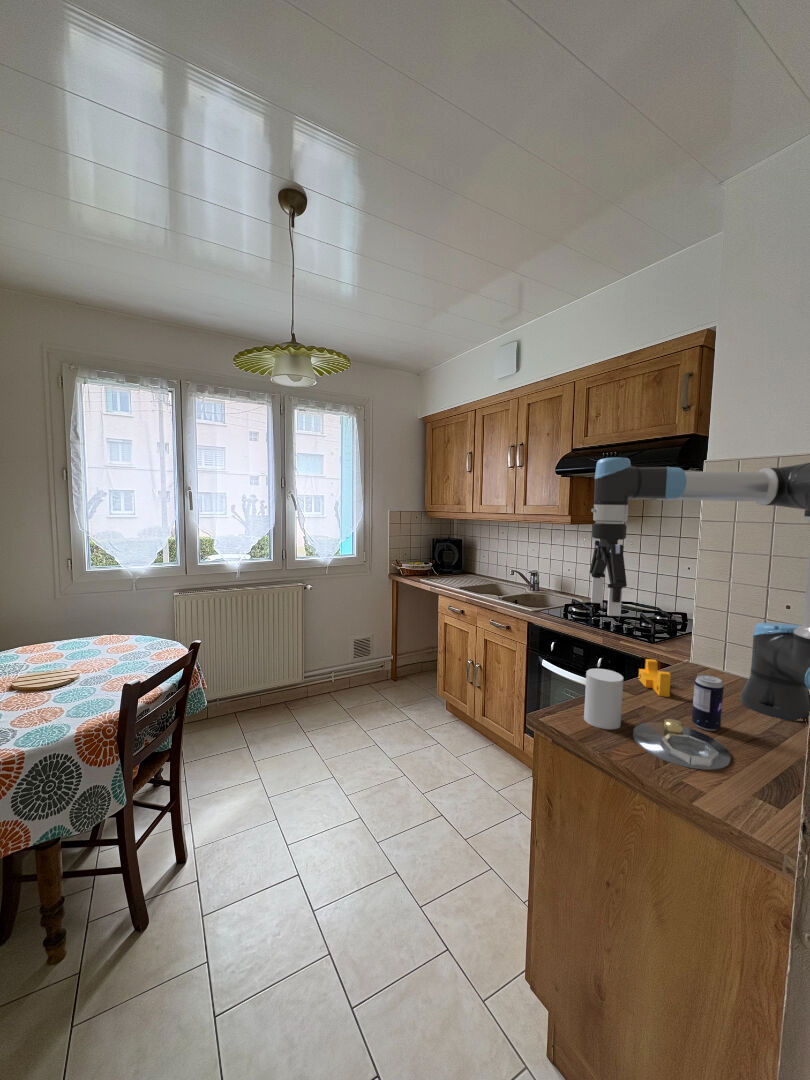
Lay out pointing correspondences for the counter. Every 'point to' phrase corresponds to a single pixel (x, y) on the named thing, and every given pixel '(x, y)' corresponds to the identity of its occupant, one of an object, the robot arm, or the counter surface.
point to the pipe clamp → (655, 678)
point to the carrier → (681, 745)
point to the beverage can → (707, 702)
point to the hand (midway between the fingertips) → (604, 608)
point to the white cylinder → (603, 698)
